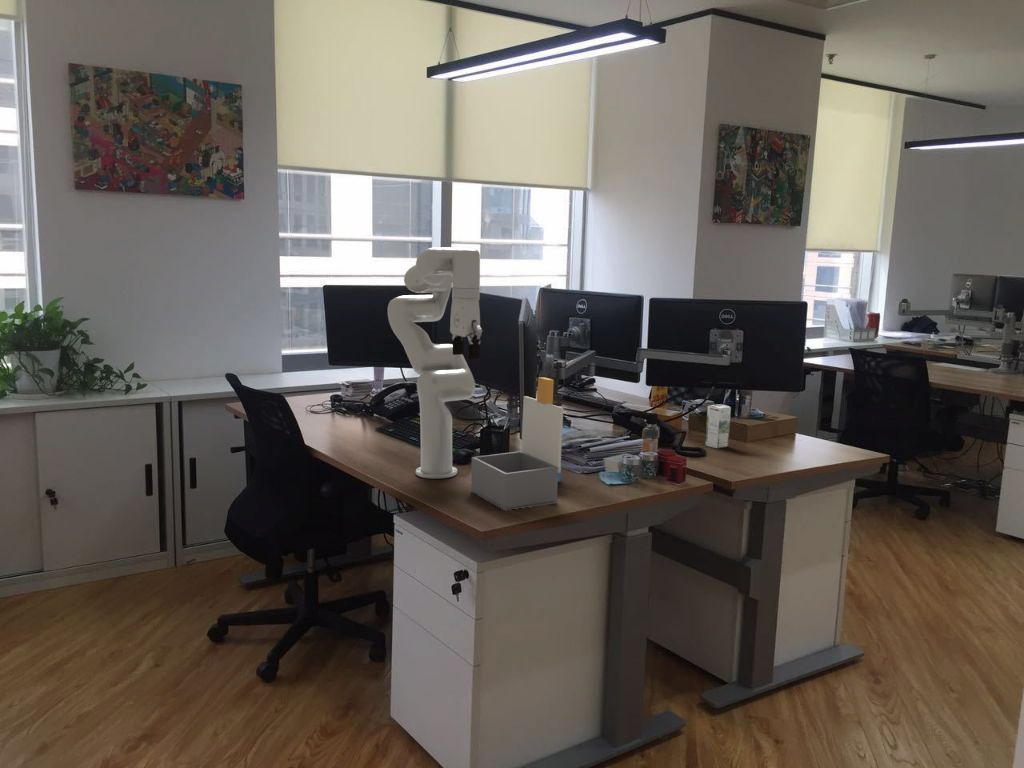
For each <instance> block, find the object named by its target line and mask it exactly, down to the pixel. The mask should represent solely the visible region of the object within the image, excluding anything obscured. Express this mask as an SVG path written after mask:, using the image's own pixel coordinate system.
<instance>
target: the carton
mask: <svg viewBox="0 0 1024 768" xmlns="http://www.w3.org/2000/svg"><path fill="white" fill-rule="evenodd" d="M470 480H471V481H470V483H471V493H473V494H474V493H475V495H476V494H477V495H476V496H478V497H479V498H481V497H482V499H483V498H484V499H483V500H484V501H487V502H488V501H489V502H488V503H490V502H491V503H490V504H492V503H493V504H494V505H493V504H492V505H493V506H495V505H496V506H495V507H497V506H498V507H497V508H499V507H500V508H501V510H502V509H503V510H502V511H504V510H505V512H508V511H507V510H510V511H512V510H511V509H516V510H519V509H518V508H522V509H526V508H525V507H529V508H533V506H535V507H540V506H548V505H552V504H557V503H558V483H559V482H558V467H556V466H554V465H552V464H550V463H547V462H545V461H543V460H540V459H538V458H536V457H533V456H531V455H530V454H527V453H525V452H523V451H521V450H519V451H511V452H505V453H504V452H503V453H495V454H489V455H479V456H472V457H471V479H470ZM500 508H499V509H500Z"/></svg>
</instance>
